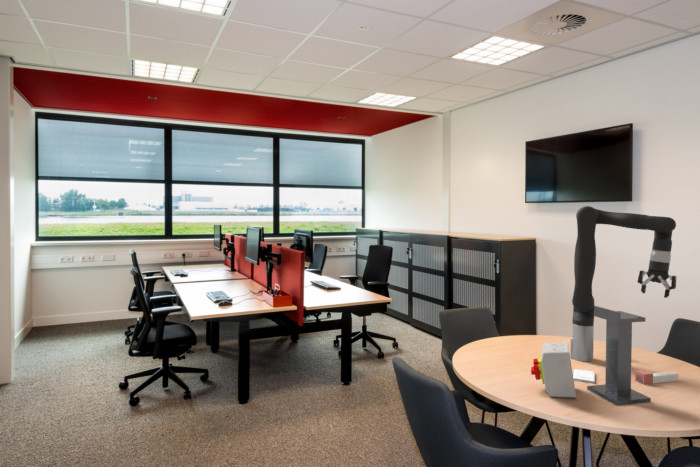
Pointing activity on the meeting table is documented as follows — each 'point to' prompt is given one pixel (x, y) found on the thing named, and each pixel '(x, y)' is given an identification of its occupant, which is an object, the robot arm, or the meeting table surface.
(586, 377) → the external hard drive
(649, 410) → the meeting table surface
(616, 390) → the headphone stand
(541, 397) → the meeting table surface
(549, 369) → the electrical switch box
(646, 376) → the white bar pink end
